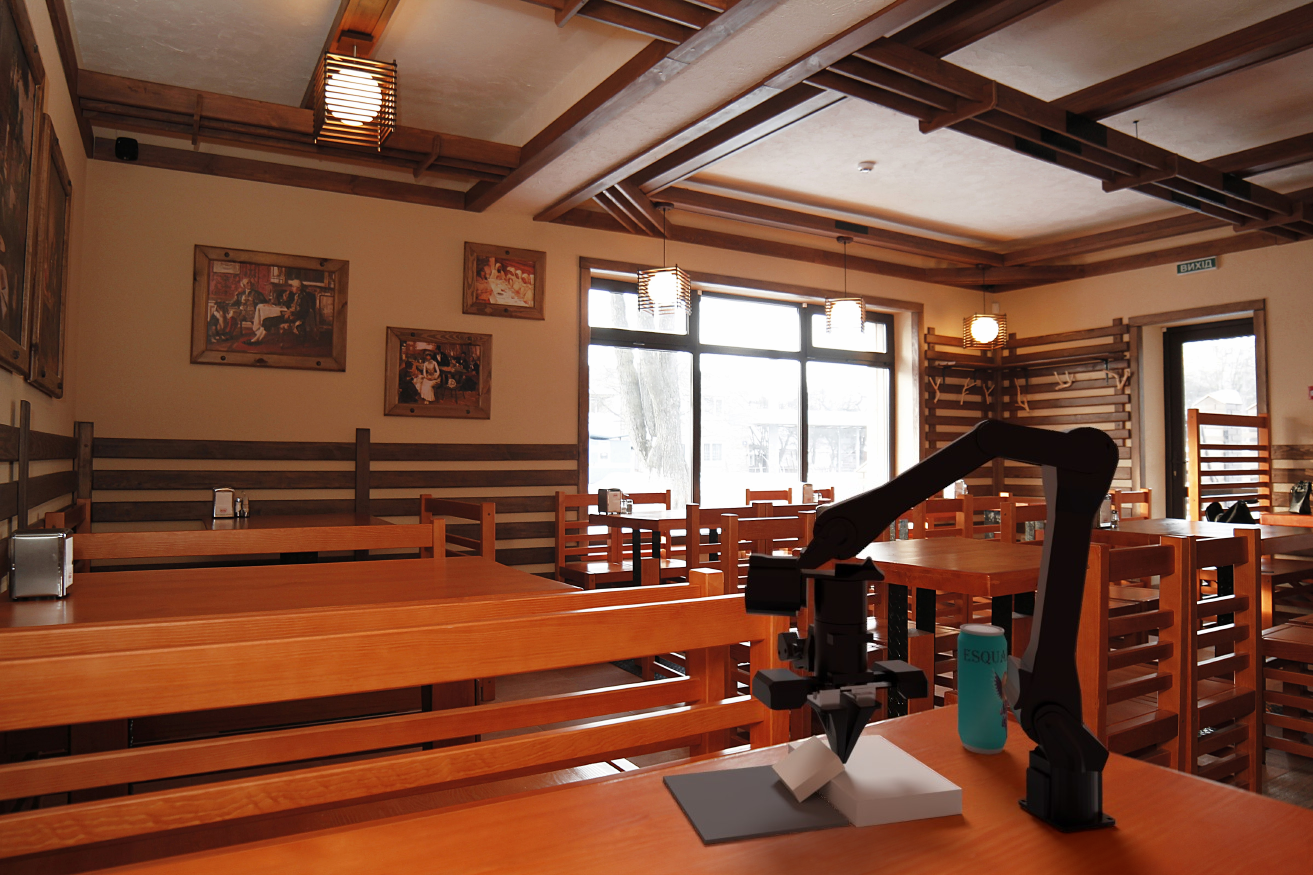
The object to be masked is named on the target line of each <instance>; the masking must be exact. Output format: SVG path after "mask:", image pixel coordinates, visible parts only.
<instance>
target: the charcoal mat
mask: <svg viewBox="0 0 1313 875" xmlns="http://www.w3.org/2000/svg"><path fill="white" fill-rule="evenodd" d="M773 765H774V764H767V765H766V764H765V765H757V766H748V767H747V766H746V767H739V768H737V767H736V768H729V769H720V770H711V771H700V772H691V773H681V774H671V775H663V776H662V781H663V782H664V784H665V785H666V787H667V789H668V790H669V791H670V793H671V795H672V796H673V797H674V799H675V800H676V802H677V804H678V805H679V807H680V808H681V810H682V811H683V813H684V814H685V816H686V817H687V819H688V820H689V822H690V823H691V825H692V826H693V828H694V829H695V831H696V832H697V834H698V836H699V837H700V838H701V840H702V842H703V843H704V845H711V844H718V843H720V844H721V843H726V842H734V841H735V842H736V841H743V840H748V839H758V838H765V837H774V836H781V835H786V834H787V835H789V834H797V833H804V832H811V831H820V830H826V829H827V830H828V829H834V828H841V827H849V826H850V823H851V822H850V821H849V820H848V819H847V818H846V817H845V816H844V815H843V814H841V813H840V812H839V811H838V810H837V809H836V808H835V807H834V806H833V805H832V804H830V803H829V802H828V801H827V800H826V799H825V798H824V797H823V796H822V795H821V794H820V793H818V792H817V791H815V792H814V793H812V794H811V795H810V796H808V797H807V798H806V799H804V800H803V801H802V802H799V801H798V800H797V799H796V798H795V797H794V796H793V794H792V793H791V792H790V791H789V790H788V789H787V787H786V786H785V785H784V784H783V783H782V782H781V781H780V779H779V778H778V777H777V775H776V773H775V772H774V770H773V768H772V767H771V766H773Z"/></svg>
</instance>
